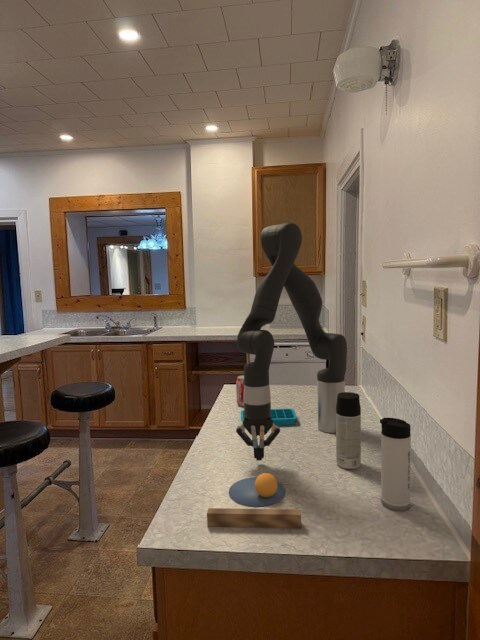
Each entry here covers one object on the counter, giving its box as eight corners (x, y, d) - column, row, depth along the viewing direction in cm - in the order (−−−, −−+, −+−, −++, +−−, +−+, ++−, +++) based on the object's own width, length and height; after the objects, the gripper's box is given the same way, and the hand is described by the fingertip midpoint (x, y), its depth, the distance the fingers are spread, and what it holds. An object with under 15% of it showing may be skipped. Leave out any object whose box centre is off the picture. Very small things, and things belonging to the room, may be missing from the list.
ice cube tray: (241, 417, 159) (240, 410, 159) (293, 415, 159) (293, 408, 159) (241, 428, 148) (241, 420, 147) (297, 426, 148) (297, 418, 147)
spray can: (361, 460, 118) (361, 392, 116) (360, 471, 111) (359, 399, 110) (337, 458, 120) (336, 390, 118) (335, 468, 114) (334, 397, 112)
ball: (276, 480, 104) (277, 468, 101) (277, 501, 100) (278, 490, 96) (255, 480, 104) (254, 468, 101) (255, 501, 100) (254, 490, 97)
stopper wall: (300, 522, 89) (300, 509, 89) (301, 528, 87) (300, 514, 87) (208, 521, 91) (208, 508, 91) (207, 526, 89) (206, 513, 89)
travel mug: (375, 497, 98) (375, 415, 96) (402, 495, 99) (402, 414, 97) (386, 512, 92) (387, 425, 90) (415, 510, 92) (416, 423, 90)
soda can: (252, 407, 170) (251, 378, 169) (235, 407, 171) (234, 378, 170) (254, 402, 177) (254, 374, 176) (238, 402, 178) (237, 374, 177)
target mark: (284, 478, 109) (284, 477, 109) (285, 507, 96) (285, 506, 96) (231, 477, 111) (231, 476, 111) (225, 506, 97) (225, 505, 97)
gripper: (280, 395, 119) (282, 453, 121) (235, 396, 120) (237, 453, 122) (281, 403, 112) (282, 465, 113) (232, 404, 113) (234, 465, 115)
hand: (259, 459), depth 118 cm, fingers closed
